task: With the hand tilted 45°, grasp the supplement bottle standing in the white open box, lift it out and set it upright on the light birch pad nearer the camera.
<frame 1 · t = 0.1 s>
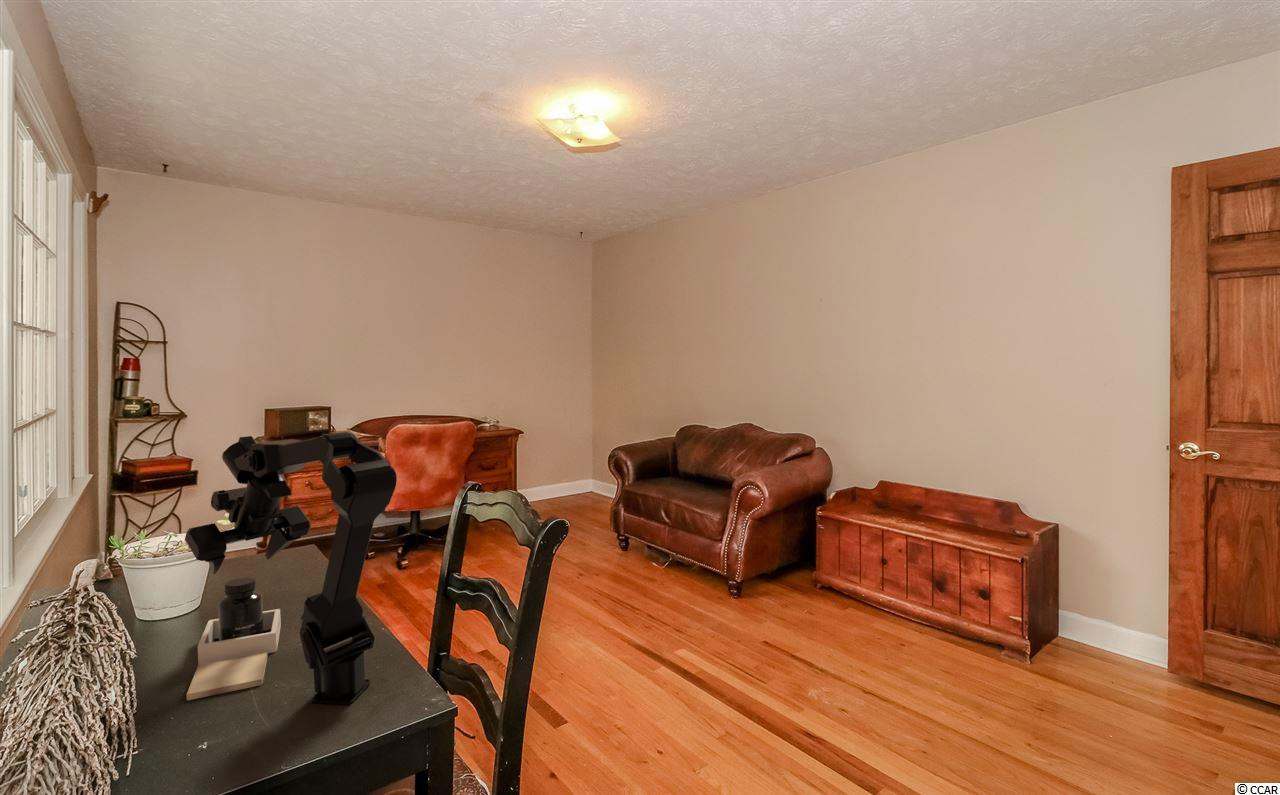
hand: (241, 564, 113), 15 cm above the table, tool tilted 35°, fingers open, 9 cm apart
birch pad: (229, 677, 102), on the table
supplement bottle: (242, 645, 114), resting in white open box
white open box: (242, 644, 114), on the table
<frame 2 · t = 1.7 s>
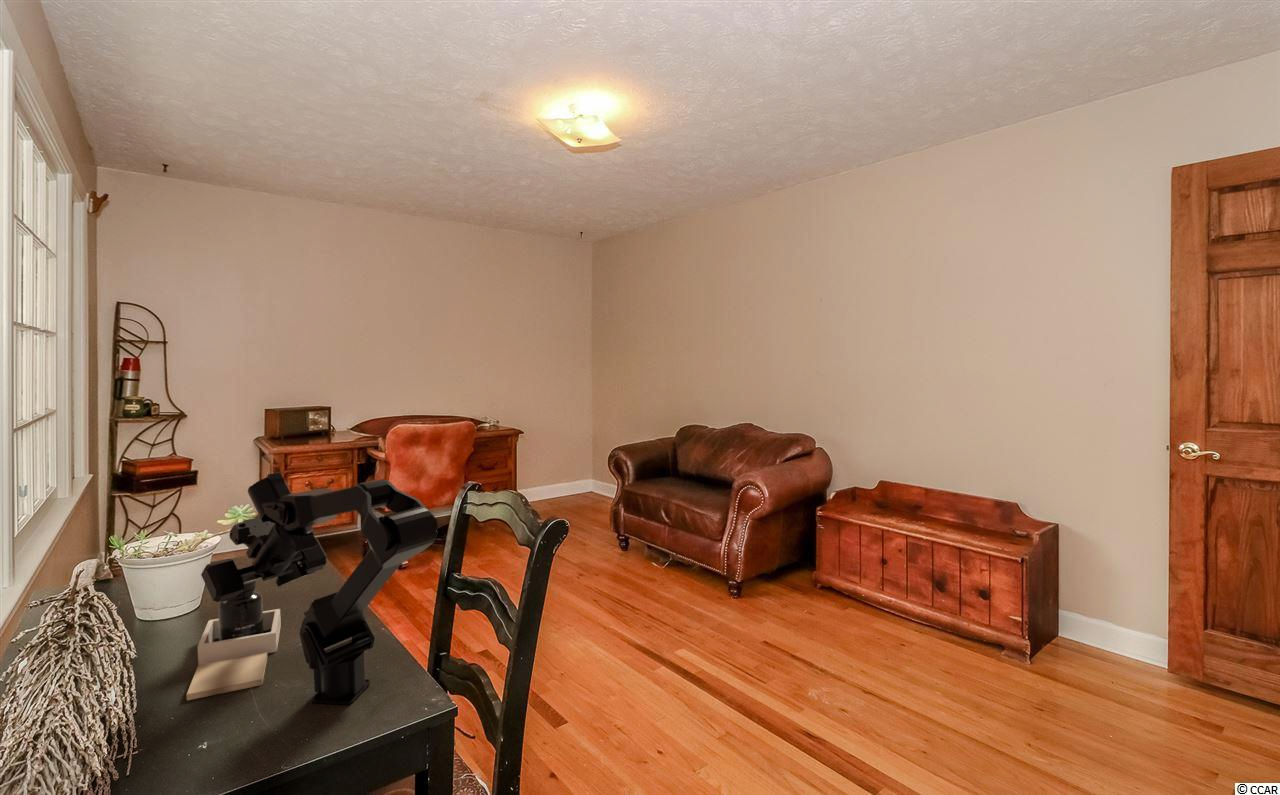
hand: (251, 592, 111), 11 cm above the table, tool tilted 45°, fingers open, 9 cm apart
nothing on the table moved.
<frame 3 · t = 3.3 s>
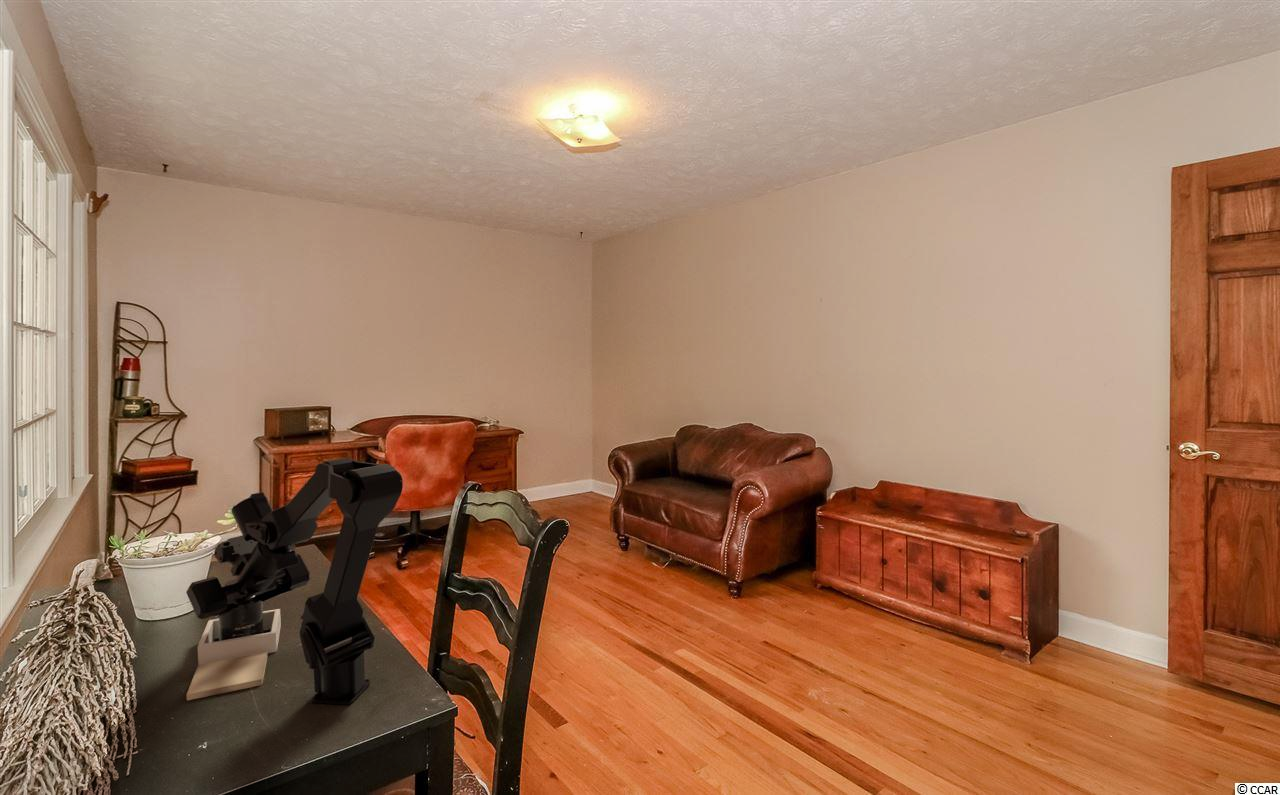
hand: (237, 608, 114), 7 cm above the table, tool tilted 45°, fingers closed on supplement bottle, 7 cm apart
supplement bottle: (242, 645, 114), resting in white open box, touching gripper
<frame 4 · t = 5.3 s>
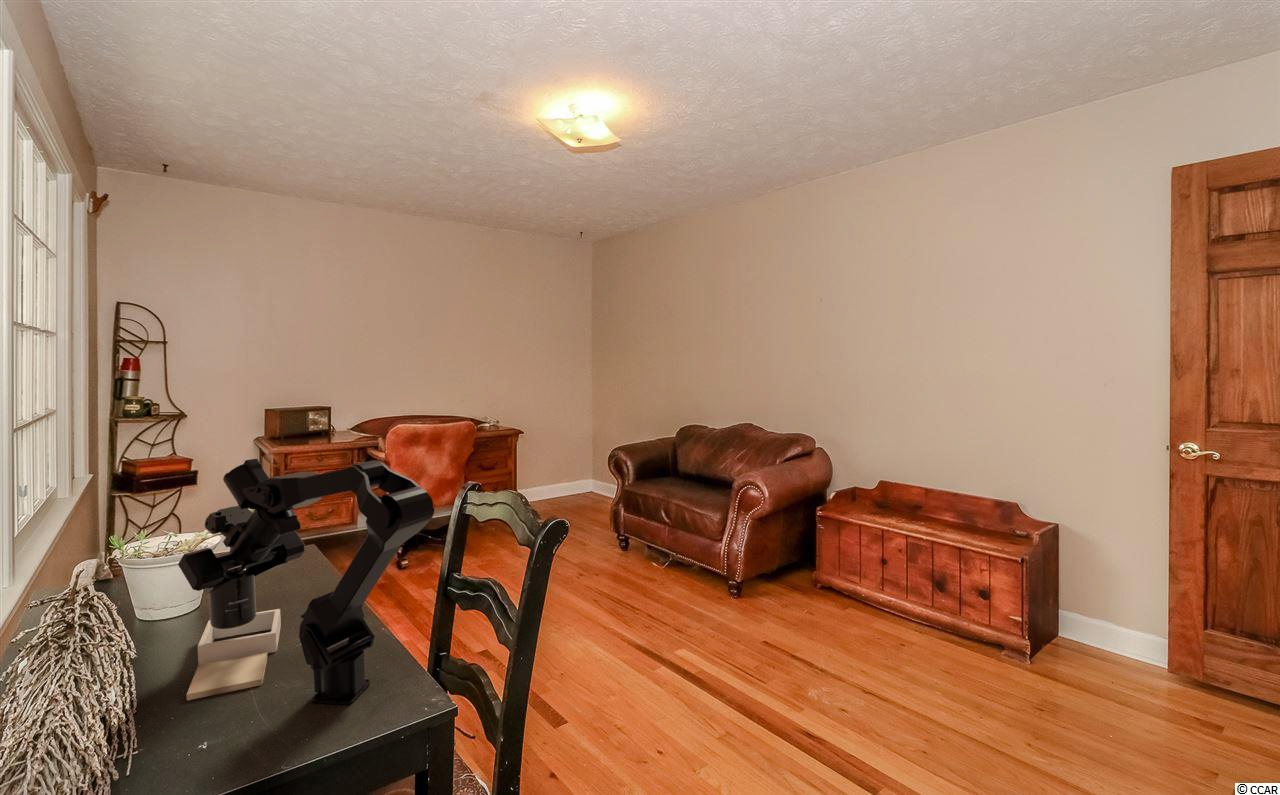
hand: (227, 584, 109), 13 cm above the table, tool tilted 45°, fingers closed on supplement bottle, 7 cm apart
supplement bottle: (234, 622, 109), point 6 cm above the table, touching gripper
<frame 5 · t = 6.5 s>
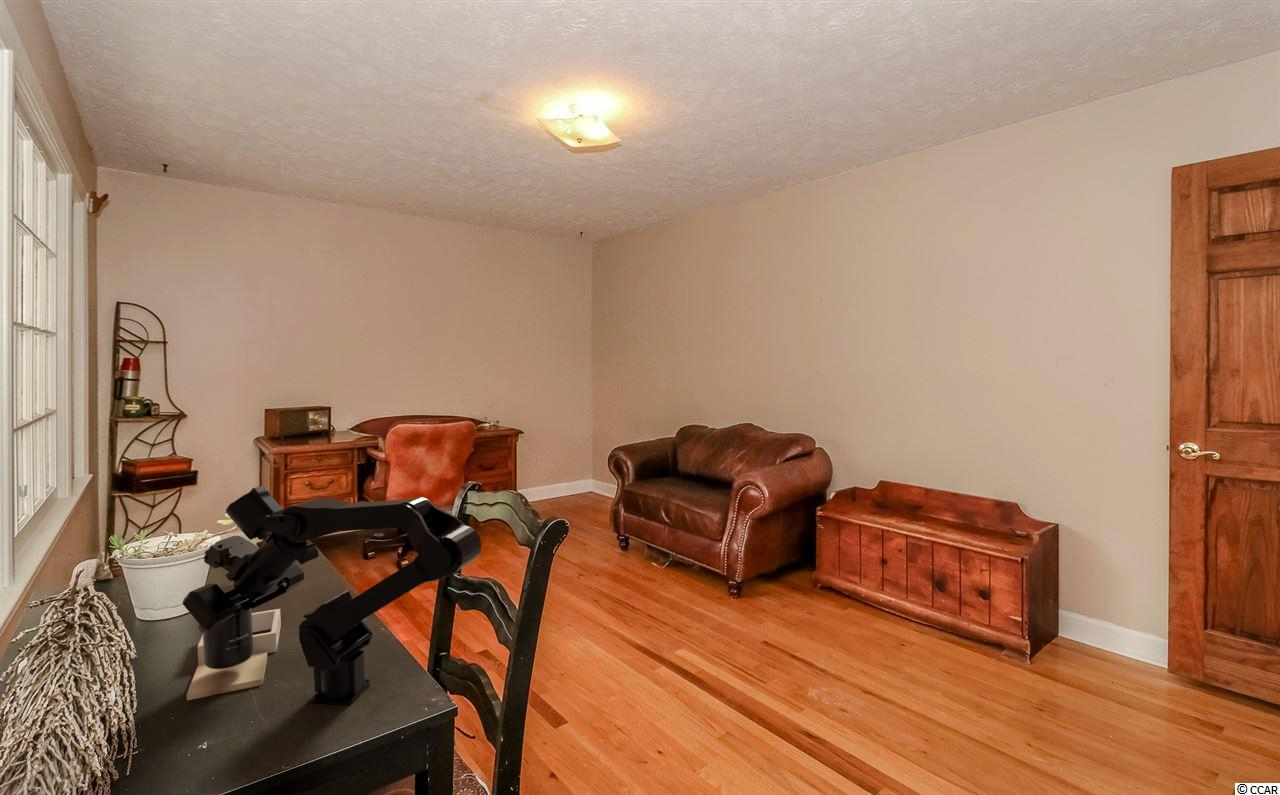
hand: (220, 620, 102), 10 cm above the table, tool tilted 45°, fingers closed on supplement bottle, 7 cm apart
supplement bottle: (229, 661, 102), point 3 cm above the table, touching gripper
when the fingers open (9 cm above the table, at t = 7.2 s): supplement bottle drops 1 cm, resting on birch pad.
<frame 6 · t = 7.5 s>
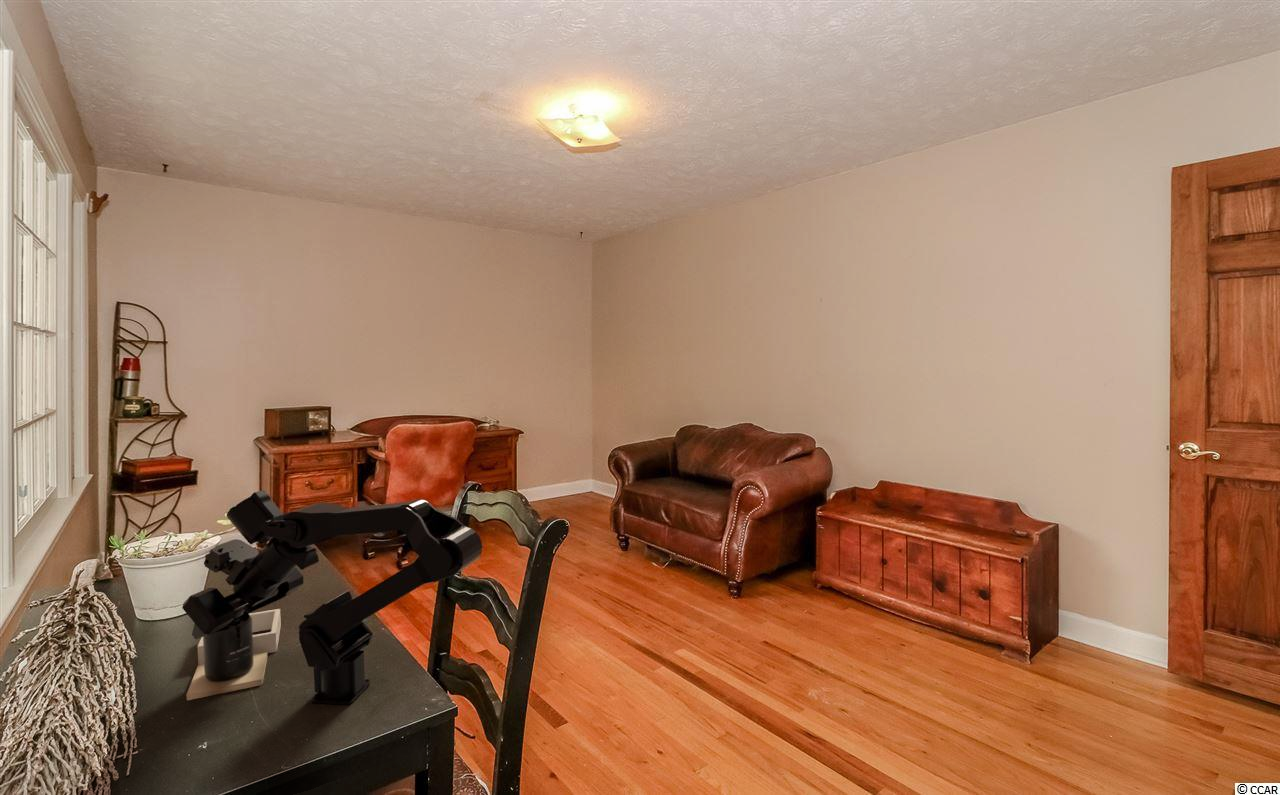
hand: (220, 624, 102), 9 cm above the table, tool tilted 45°, fingers open, 9 cm apart
supplement bottle: (230, 673, 102), point 1 cm above the table, touching birch pad
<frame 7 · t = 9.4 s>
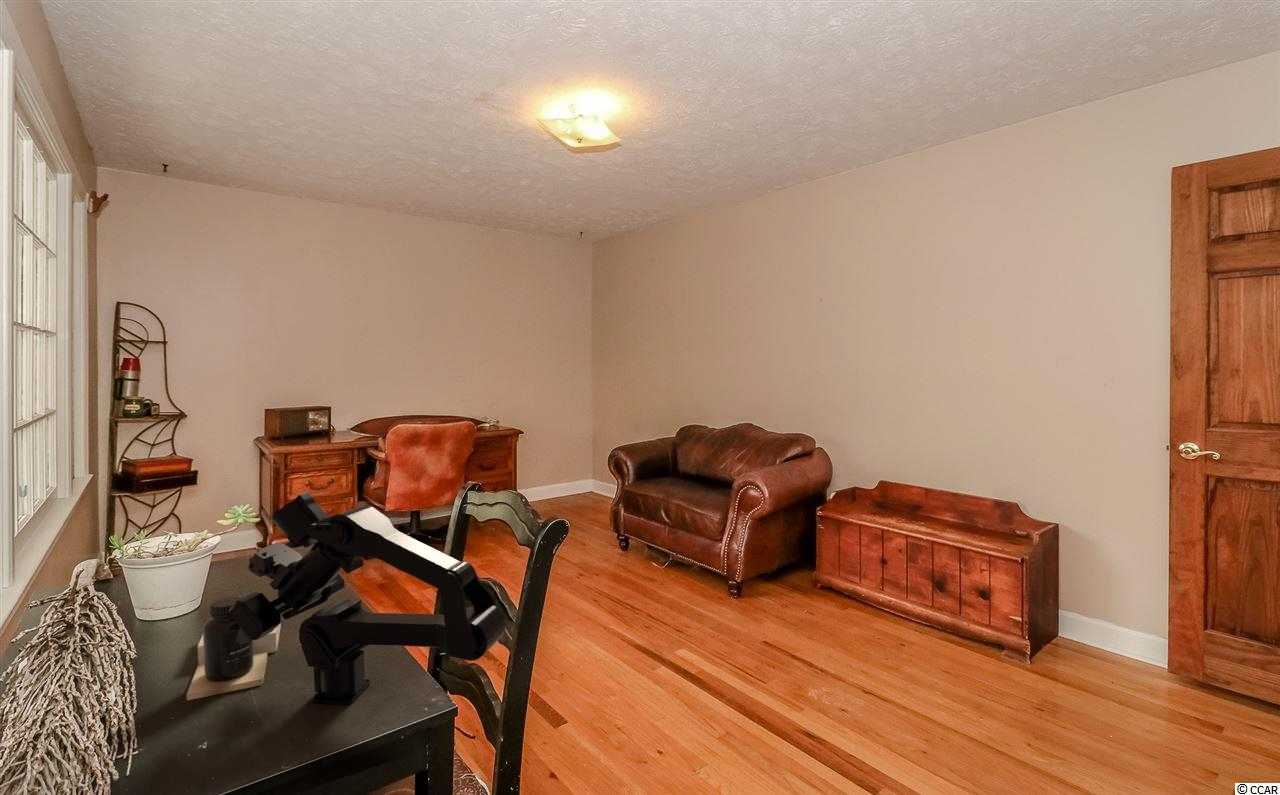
hand: (262, 629, 100), 9 cm above the table, tool tilted 45°, fingers open, 9 cm apart
nothing on the table moved.
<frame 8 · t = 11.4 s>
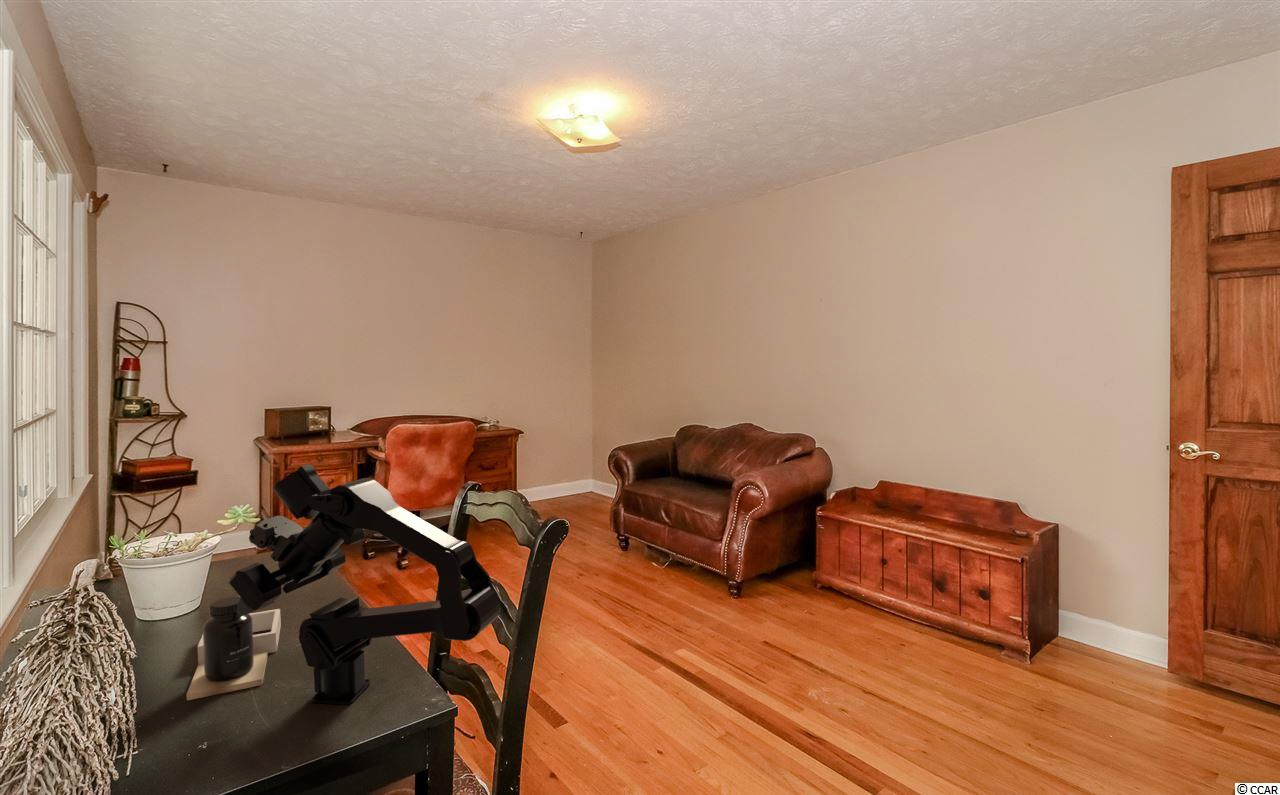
hand: (262, 601, 100), 14 cm above the table, tool tilted 45°, fingers open, 9 cm apart
nothing on the table moved.
at the end: supplement bottle 0.2 cm from the birch pad (horizontally); supplement bottle tilted 0°; supplement bottle touching birch pad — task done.
